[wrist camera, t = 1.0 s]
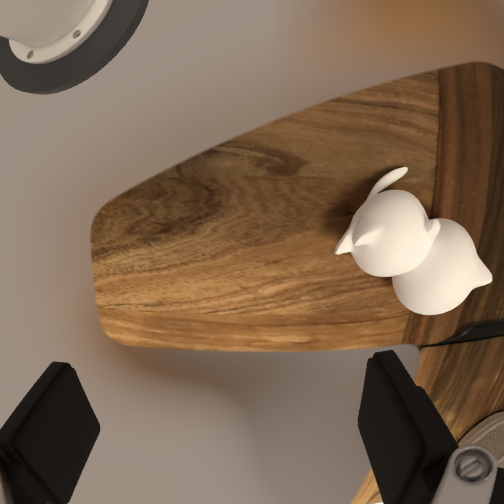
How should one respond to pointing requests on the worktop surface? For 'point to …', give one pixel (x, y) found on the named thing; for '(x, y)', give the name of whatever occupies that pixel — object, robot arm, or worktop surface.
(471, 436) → the jar
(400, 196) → the cat figurine
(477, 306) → the worktop surface
